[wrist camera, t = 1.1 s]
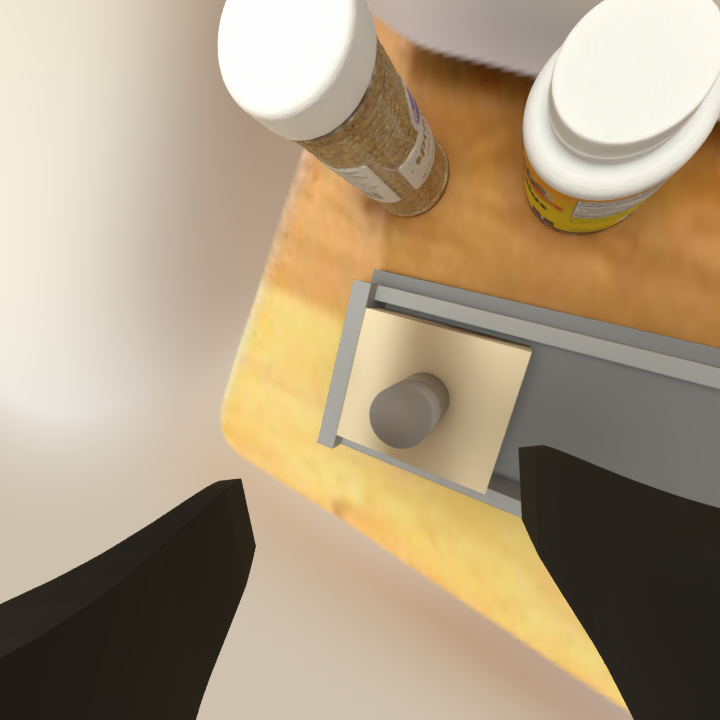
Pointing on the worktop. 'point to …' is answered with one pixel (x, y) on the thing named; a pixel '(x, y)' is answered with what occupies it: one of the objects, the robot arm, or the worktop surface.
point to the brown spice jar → (333, 95)
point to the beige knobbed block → (432, 394)
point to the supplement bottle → (620, 110)
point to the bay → (567, 391)
